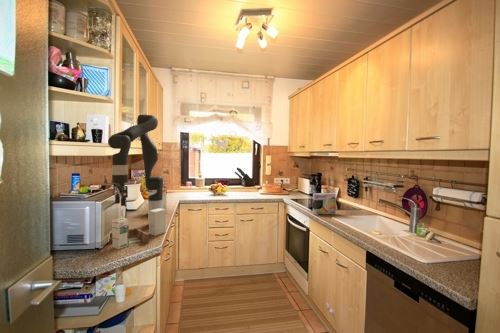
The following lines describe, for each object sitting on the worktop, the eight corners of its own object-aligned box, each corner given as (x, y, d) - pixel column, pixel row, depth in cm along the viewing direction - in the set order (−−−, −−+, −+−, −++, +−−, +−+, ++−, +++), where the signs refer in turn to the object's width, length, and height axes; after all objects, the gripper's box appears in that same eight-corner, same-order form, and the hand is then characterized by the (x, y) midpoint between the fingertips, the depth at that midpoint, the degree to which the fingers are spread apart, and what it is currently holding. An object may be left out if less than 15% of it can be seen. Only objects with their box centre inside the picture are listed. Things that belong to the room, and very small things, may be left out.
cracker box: (166, 214, 211) (166, 188, 210) (161, 215, 206) (161, 189, 205) (153, 212, 217) (153, 187, 216) (148, 213, 212) (147, 188, 211)
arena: (107, 242, 144) (107, 233, 143) (137, 236, 155) (137, 228, 155) (117, 250, 132) (117, 240, 132) (149, 243, 144) (148, 234, 143)
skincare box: (159, 231, 166) (159, 207, 165) (166, 232, 163) (166, 208, 162) (148, 234, 159) (148, 210, 158) (155, 236, 156) (155, 211, 155)
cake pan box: (313, 215, 215) (313, 193, 214) (311, 213, 220) (311, 192, 219) (335, 215, 217) (336, 193, 216) (333, 213, 222) (334, 192, 221)
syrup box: (119, 249, 134) (118, 221, 133) (112, 247, 137) (111, 219, 136) (129, 246, 139) (128, 219, 138) (122, 244, 142) (121, 217, 141)
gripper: (132, 174, 134) (133, 205, 134) (122, 172, 144) (123, 201, 145) (117, 174, 128) (117, 207, 129) (107, 173, 139) (108, 203, 139)
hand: (120, 204), depth 137 cm, fingers open, 8 cm apart
